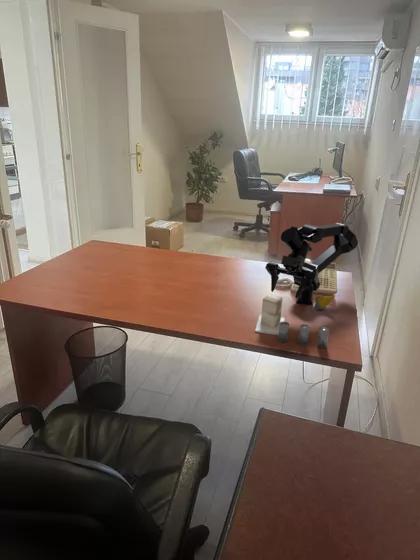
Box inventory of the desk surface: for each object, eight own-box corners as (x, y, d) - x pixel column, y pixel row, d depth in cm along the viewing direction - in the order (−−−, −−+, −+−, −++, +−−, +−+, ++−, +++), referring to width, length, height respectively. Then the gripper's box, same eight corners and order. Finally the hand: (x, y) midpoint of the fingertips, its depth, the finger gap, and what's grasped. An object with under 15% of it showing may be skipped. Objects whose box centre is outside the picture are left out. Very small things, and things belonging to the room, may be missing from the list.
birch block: (267, 319, 142) (269, 293, 138) (280, 323, 140) (282, 297, 136) (260, 324, 138) (262, 298, 134) (273, 328, 136) (276, 302, 132)
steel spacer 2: (317, 342, 130) (319, 326, 127) (326, 344, 129) (329, 327, 127) (317, 347, 127) (319, 331, 124) (326, 348, 126) (329, 332, 124)
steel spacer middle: (298, 339, 131) (300, 323, 128) (307, 341, 130) (309, 325, 128) (297, 344, 128) (300, 328, 126) (307, 346, 127) (309, 329, 125)
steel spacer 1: (278, 336, 132) (280, 321, 130) (287, 338, 132) (289, 322, 129) (277, 341, 130) (279, 325, 127) (286, 342, 129) (288, 326, 127)
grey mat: (259, 315, 146) (259, 314, 145) (284, 319, 144) (284, 317, 143) (255, 331, 135) (255, 330, 135) (281, 335, 133) (281, 334, 133)
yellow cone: (317, 304, 156) (339, 293, 150) (318, 315, 153) (340, 304, 147) (308, 298, 154) (330, 286, 148) (309, 309, 151) (331, 297, 145)
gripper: (268, 241, 143) (253, 280, 139) (319, 250, 134) (304, 292, 130) (276, 254, 152) (262, 291, 149) (324, 264, 143) (310, 304, 139)
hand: (283, 294), depth 142 cm, fingers open, 9 cm apart
